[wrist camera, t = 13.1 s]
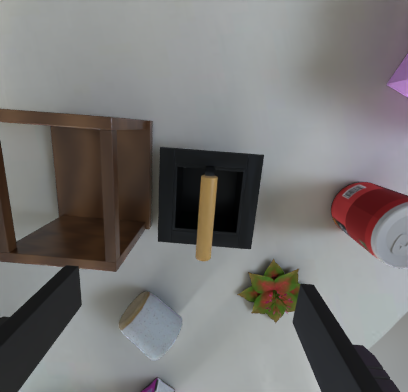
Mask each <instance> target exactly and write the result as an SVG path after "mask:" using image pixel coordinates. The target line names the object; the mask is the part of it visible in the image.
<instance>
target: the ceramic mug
mask: <svg viewBox="0 0 408 392" xmlns="http://www.w3.org/2000/svg"><path fill="white" fill-rule="evenodd" d="M181 326H182V318H181V316H180V315H178V314H177V313H176V312H175V311H173V310H172V309H171V308H170V307H169V306H167V305H166V304H165V303H164V302H162V301H161V300H160V299H159V298H158V297H157V296H155V295H154V294H152V293H150V292H143V293H141V294H140V295H139V296H138V297H137V298H136V299H135V300H134V301H133V302H132V303H131V304H130V305H129V307H128V308H127V309H126V311H125V312H124V313H123V315H122V317H121V319H120V321H119V329H120V330H121V332H122V333H123V334H124V335H125V336H126V337H127V338H128V339H129V340H130V341H131V342H133V343H134V344H135V345H136V346H137V347H138V348H139V349H140V350H141V351H142V352H143V353H144V354H145V355H146V356H147V357H148V358H150V359H151V360H158V359H159V358H161V357H162V356H163V355H164V354H165V353H166V352H167V351H168V350H169V349H170V348H171V347H172V345H173V344H174V342H175V340H176V339H177V337H178V335H179V332H180V330H181Z"/></svg>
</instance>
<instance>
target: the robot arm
mask: <svg viewBox="0 0 408 392" xmlns="http://www.w3.org/2000/svg"><path fill="white" fill-rule="evenodd" d="M81 305H82V302H81V290H80V277H79V266H71V265H65V266H64V267H63V268H62V269H61V270H60V271H59V272H58V273H57V274H56V275H55V276H54V277H53V278H52V279H50V280H49V281H48V282H47V283H46V284H45V285H44V286H43V287H42V288H41V289H40V290H39V291H38V292H37V293H35V294H34V295H33V296H32V297H31V298H30V299H29V300H28V301H27V302H26V303H25V304H24V305H23V306H22V307H20V308H19V309H18V310H17V311H16V312H15V313H14V314H13V315H12V316H11V317H2V318H0V392H18V391H19V389H20V388H21V387H22V385H23V384H24V383H25V381H26V380H27V379H28V377H29V376H30V375H31V373H32V372H33V371H34V369H35V368H36V366H37V365H38V364H39V362H40V361H41V360H42V358H43V357H44V356H45V354H46V353H47V352H48V350H49V349H50V347H51V346H52V345H53V343H54V342H55V341H56V339H57V338H58V337H59V335H60V334H61V333H62V331H63V330H64V329H65V327H66V326H67V324H68V323H69V322H70V320H71V319H72V318H73V316H74V315H75V314H76V312H77V311H78V310H79V308H80V307H81ZM293 325H294V327H295V329H296V332H297V334H298V337H299V339H300V341H301V344H302V346H303V349H304V351H305V353H306V356H307V358H308V361H309V363H310V365H311V368H312V370H313V373H314V375H315V377H316V380H317V382H318V385H319V387H320V389H321V392H400V391H399V389H398V388H397V387H396V385H395V384H394V382H393V381H392V380H390V377H389V376H388V374H387V373H386V372H385V370H383V367H382V366H381V365H380V363H379V362H378V360H377V359H376V357H375V356H374V355H373V354H372V353H371V352H369V351H368V350H367V349H366V348H365V347H364V346H363V345H352V343H351V342H350V340H349V339H348V337H347V335H346V334H345V332H344V331H343V329H342V328H341V326H340V325H339V323H338V322H337V320H336V319H335V317H334V315H333V314H332V312H331V311H330V309H329V308H328V306H327V305H326V303H325V302H324V300H323V299H322V297H321V296H320V294H319V292H318V291H317V289H316V288H315V286H314V285H310V284H300V288H299V293H298V298H297V303H296V308H295V313H294V318H293Z"/></svg>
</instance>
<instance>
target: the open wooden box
mask: <svg viewBox="0 0 408 392" xmlns="http://www.w3.org/2000/svg"><path fill="white" fill-rule="evenodd" d="M0 122H7V123H20V124H34V125H47V126H50V127H51V137H52V148H53V158H54V168H55V178H56V188H57V199H58V209H59V218H57V219H55V220H54V221H52V222H50V223H48V224H47V225H45V226H43V227H41V228H40V229H38V230H36V231H34V232H33V233H31V234H29V235H28V236H26V237H24V238H22V239H21V240H19V241H17V242H16V238H15V232H14V225H13V219H12V213H11V206H10V200H9V193H8V187H7V180H6V174H5V167H4V161H3V155H2V148H1V142H0V261H1V262H12V263H23V264H34V265H45V266H57V267H64V266H65V265H71V266H79V269H91V270H102V271H113V272H116V271H117V270H118V269H119V267H120V266H121V264H122V263H123V261H124V260H125V258H126V257H127V255H128V254H129V252H130V251H131V250H132V248H133V247H134V245H135V244H136V242H137V241H138V239H139V238H140V236H141V235H142V233H143V232H144V231H145V229H150V227H151V204H152V128H153V121H145V120H135V119H125V118H115V117H104V116H90V115H77V114H64V113H50V112H37V111H23V110H10V109H0Z"/></svg>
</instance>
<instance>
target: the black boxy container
mask: <svg viewBox="0 0 408 392" xmlns="http://www.w3.org/2000/svg"><path fill="white" fill-rule="evenodd" d="M263 159H264V155H258V154H245V153H232V152H219V151H206V150H193V149H180V148H167V147H160V170H159V217H158V242H170V243H182V244H194V245H196V259H197V260H199V261H208V260H210V258H211V248H212V246H217V247H229V248H241V249H251V245H252V238H253V231H254V224H255V216H256V209H257V202H258V195H259V188H260V180H261V173H262V166H263Z"/></svg>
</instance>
